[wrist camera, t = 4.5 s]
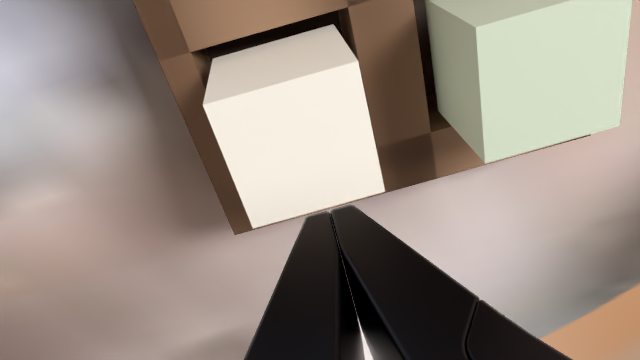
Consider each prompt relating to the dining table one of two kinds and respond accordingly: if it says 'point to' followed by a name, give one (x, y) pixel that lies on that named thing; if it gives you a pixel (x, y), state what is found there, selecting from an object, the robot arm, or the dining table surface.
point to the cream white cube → (294, 125)
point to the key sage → (528, 70)
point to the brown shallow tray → (375, 66)
